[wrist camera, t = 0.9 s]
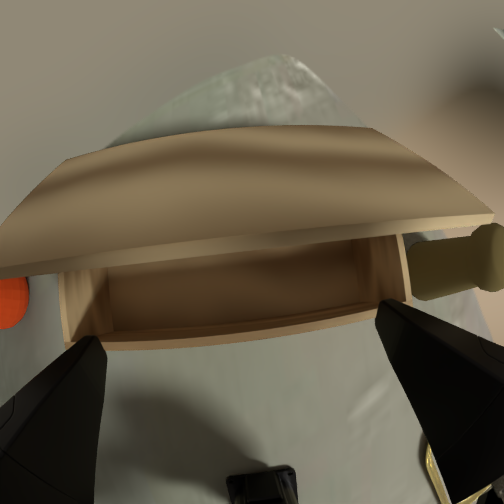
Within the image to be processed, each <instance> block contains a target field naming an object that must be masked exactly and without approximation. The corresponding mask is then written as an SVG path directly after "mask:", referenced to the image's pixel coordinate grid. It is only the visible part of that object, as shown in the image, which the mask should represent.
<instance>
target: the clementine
mask: <svg viewBox="0 0 504 504" xmlns="http://www.w3.org/2000/svg"><path fill="white" fill-rule="evenodd" d="M28 301H29V289H28V284H27V281H26V278H25V277H19V278H10V279H2V280H0V329H6V328H10V327H13V326H14V325H16V324H17V323H18V322H19V321H20V320H21V319H22V318H23V316H24V314H25V312H26V309H27V306H28Z"/></svg>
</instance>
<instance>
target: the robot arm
mask: <svg viewBox="0 0 504 504" xmlns="http://www.w3.org/2000/svg"><path fill="white" fill-rule="evenodd" d="M375 326H376V329H377V331H378V334H379V336H380V339H381V341H382V344H383V346H384V349H385V351H386V354H387V356H388V359H389V361H390V363H391V365H392V367H393V369H394V371H395V373H396V375H397V377H398V379H399V381H400V383H401V385H402V387H403V389H404V391H405V393H406V395H407V397H408V399H409V401H410V403H411V406H412V408H413V410H414V412H415V414H416V416H417V418H418V421H419V423H420V425H421V427H422V429H423V432H424V434H425V436H426V438H427V441H428V443H429V445H430V448H431V450H432V452H433V455H434V457H435V460H436V463H437V465H438V468H439V470H440V473H441V475H442V478H443V481H444V483H445V486H446V489H447V491H448V494H449V497H450V500H451V503H452V504H457V503H459V502H461V501H463V500H465V499H466V498H468V497H470V496H472V495H473V494H475V493H477V492H479V491H480V490H482V489H484V488H485V487H487V486H488V485H490V484H491V485H492V486H491V487H489V488H488V489H487V490H486V491H485V492H484V493H482V494H481V495H480V496H479V497H478V500H477V503H476V504H504V347H503V346H501V345H498V344H496V343H493V342H491V341H488V340H486V339H484V338H482V337H480V336H478V337H477V335H475V334H473V333H470V332H468V331H466V330H464V329H461V328H459V327H457V326H455V325H452V324H450V323H448V322H446V321H443V320H441V319H439V318H436V317H434V316H432V315H430V314H427V313H425V312H423V311H420V310H418V309H416V308H413V307H411V306H409V305H406V304H404V303H402V302H399V301H397V300H395V299H392V298H389V299H384V300H381V301H380V302H379V305H378V309H377V314H376V318H375ZM106 370H107V354H106V352H105V350H104V348H103V346H102V344H101V342H100V340H99V338H98V337H97V336H96V335H85V336H83V337H82V338H81V339H80V340H78V341H77V342H76V343H75V344H74V345H72V346H71V347H70V348H69V349H68V350H66V351H65V352H64V353H63V354H61V355H60V356H59V357H58V358H57V359H55V360H54V361H53V362H52V363H51V364H50V365H48V366H47V367H46V368H45V369H44V370H42V371H41V372H40V373H39V374H38V375H37V376H35V377H34V378H33V379H32V380H31V381H30V382H29V383H27V384H26V385H25V386H24V387H23V388H22V389H21V390H19V391H18V392H17V393H16V394H15V396H13V397H11V398H10V399H9V400H8V401H7V402H6V403H5V404H4V405H2V406H1V407H0V504H94V484H95V468H96V456H97V447H98V438H99V430H100V423H101V416H102V410H103V403H104V395H105V381H106ZM289 472H292V473H289ZM230 480H233V481H230ZM226 484H227V487H228V491H229V495H230V499H231V502H232V504H298V494H297V483H296V473H295V470H294V469H293V468H287V469H282V470H276V471H270V472H263V473H256V474H247V475H237V476H229V477H227V478H226Z"/></svg>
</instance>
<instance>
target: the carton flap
mask: <svg viewBox="0 0 504 504" xmlns="http://www.w3.org/2000/svg"><path fill="white" fill-rule="evenodd" d="M494 215H495V213H494V212H493V211H492V210H491V209H489V208H488V207H487V206H486V205H485V204H484V203H483V202H481V201H480V200H479V199H478V198H477V197H475V196H474V195H473V194H472V193H471V192H469V191H468V190H467V189H466V188H464V187H463V186H462V185H460V184H459V183H458V182H456V181H455V180H453V179H452V178H451V177H449V176H448V175H447V174H446V173H444V172H443V171H441V170H440V169H438V168H437V167H436V166H434V165H432V164H431V163H430V162H428V161H427V160H425V159H424V158H422V157H420V156H419V155H417V154H416V153H414V152H413V151H411V150H409V149H408V148H406V147H404V146H403V145H401V144H399V143H398V142H396V141H394V140H392V139H391V138H389V137H387V136H386V135H384V134H382V133H380V132H378V131H376V130H374V129H373V128H363V127H348V126H324V125H282V126H257V127H241V128H229V129H218V130H209V131H200V132H192V133H185V134H178V135H172V136H166V137H160V138H154V139H149V140H143V141H138V142H133V143H129V144H124V145H120V146H115V147H111V148H107V149H103V150H99V151H95V152H91V153H88V154H85V155H81V156H77V157H74V158H70V159H67V160H65V161H64V162H63V163H62V164H60V165H59V166H58V167H57V168H56V169H55V170H54V171H53V172H51V173H50V174H49V175H48V176H47V177H46V178H45V179H44V180H43V181H42V182H41V183H40V184H39V185H38V186H37V187H36V188H35V189H34V190H33V191H32V192H31V193H30V194H29V195H28V196H27V197H26V198H25V199H24V200H23V201H22V202H21V203H20V204H19V205H18V206H17V207H16V209H15V210H14V211H13V212H12V213H11V214H10V215H9V216H8V218H7V219H6V220H5V221H4V222H3V223H2V225H1V226H0V280H2V279H10V278H19V277H27V276H36V275H44V274H53V273H61V272H70V271H78V270H87V269H95V268H104V267H113V266H121V265H130V264H138V263H147V262H156V261H164V260H173V259H182V258H191V257H199V256H208V255H217V254H225V253H234V252H243V251H252V250H261V249H269V248H278V247H287V246H296V245H305V244H313V243H322V242H331V241H340V240H349V239H358V238H367V237H376V236H385V235H394V234H403V233H412V232H421V231H430V230H439V229H448V228H457V227H465V226H474V225H484V224H491V222H492V220H493V217H494Z"/></svg>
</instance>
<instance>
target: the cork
mask: <svg viewBox="0 0 504 504" xmlns="http://www.w3.org/2000/svg"><path fill="white" fill-rule="evenodd" d="M406 259H407V265H408V271H409V278H410V286H411V294H412V295H413V296H414V297H416V298H417V299H419V300H423V301H428V300H432V299H435V298H439V297H443V296H447V295H450V294H454V293H458V292H461V291H465V290H468V289H471V288H475V287H479V288H480V289H482V290H485V291H489V292H496V291H499V290H501V289H503V288H504V227H503V226H501V225H499V224H497V223H491V224H484V225H481V226H480V227H479V228H477V229H476V230H475V231H474V232H472V234H471V236H466V237H457V238H449V239H441V240H432V241H424V242H417V243H416V244H414V245H412V246H411V248H410V249H409V250H408V252H407V254H406Z"/></svg>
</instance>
